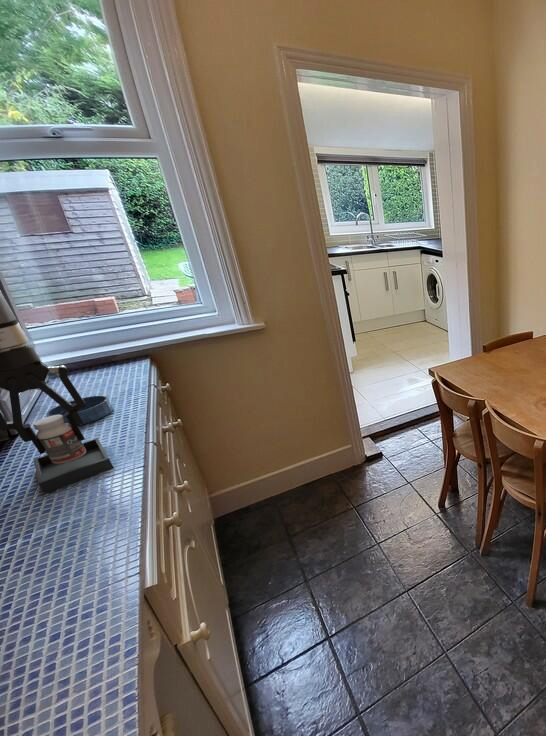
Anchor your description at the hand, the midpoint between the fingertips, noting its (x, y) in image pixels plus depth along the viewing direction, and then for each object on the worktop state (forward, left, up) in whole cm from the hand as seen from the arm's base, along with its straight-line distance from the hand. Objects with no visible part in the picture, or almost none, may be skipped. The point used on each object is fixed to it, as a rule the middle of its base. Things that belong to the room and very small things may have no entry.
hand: (62, 444), depth 92 cm
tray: (0, 0, -6) cm, 6 cm away
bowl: (-22, +28, -6) cm, 36 cm away
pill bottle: (0, 0, -4) cm, 4 cm away
